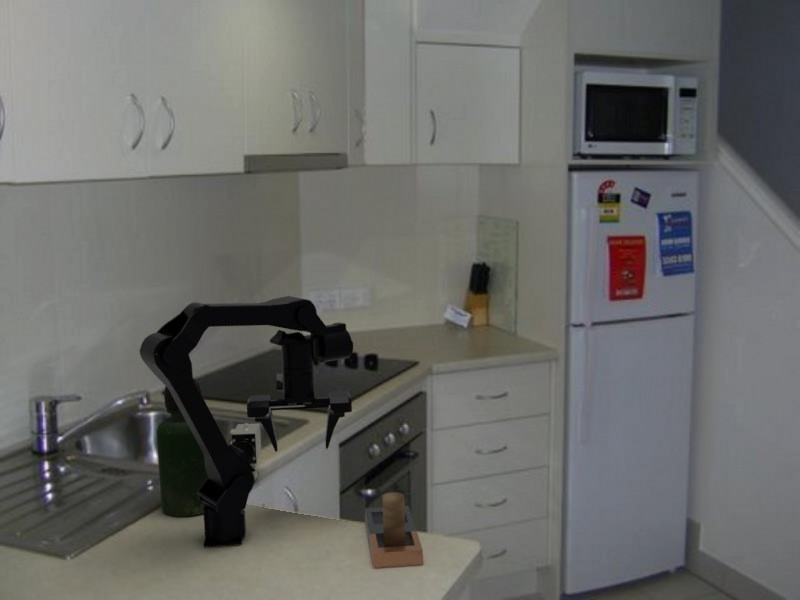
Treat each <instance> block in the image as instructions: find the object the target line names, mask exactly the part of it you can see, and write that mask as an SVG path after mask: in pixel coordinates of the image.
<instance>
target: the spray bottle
mask: <svg viewBox="0 0 800 600" xmlns="http://www.w3.org/2000/svg"><path fill="white" fill-rule="evenodd" d="M193 379H194V382H195V384H196V386H197V387H198V389H199V391H200V393H201V394H202V388H201V386H200V383H199V381H197V380H196V379H195V378H194V377H193ZM163 398H164V399H163V400H164V407H165V408H166V413H168V414H169V415H170V416H169V417H167V418H164V419H163V420H162V421H161V422H160V423H159V425H158V426H157V429H156V441H157V443H156V445H157V458H158V472H159V473H158V474H159V475H158V476H159V487H160V488H159V489H160V490H159V491H160V503H161V510H162V512H164V513H165V514H167V515H171V516H176V517H189V516H194V515H195V516H197V515H201V514H204V512H203V509H204V506H205V503H203V502H201V501H200V500H199V497H198V495H197V491H198V489H199V488H200V487H201V485H202V484H203V483H204V481H205V480H206V479H207V477H208V475H207V472H206V469H205V461H204V454H203V452H202V450H201V448H200V446H199V444H198V442H197V441H196V439H195V437H194V435H193V433H192V431H191V430H190V428H189V426H188V424H187V422H186V420H185V419H184V417H183V415H182V413H181V411H180V409H179V408H178V406H177V404H176V402H175V400H174V398H173V397H172V395H171V393H170V391H169V389H168V388H167V387H166V385H164V391H163Z"/></svg>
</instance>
